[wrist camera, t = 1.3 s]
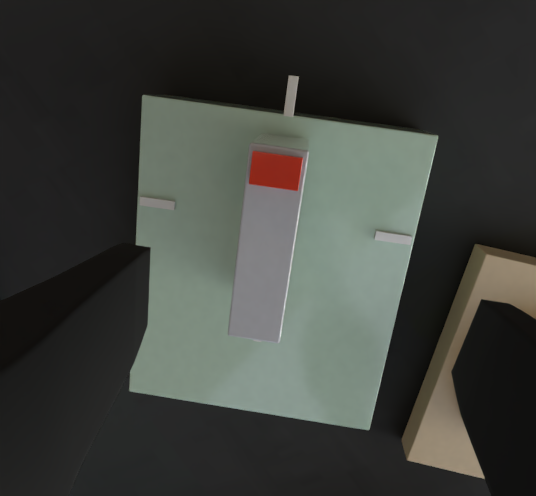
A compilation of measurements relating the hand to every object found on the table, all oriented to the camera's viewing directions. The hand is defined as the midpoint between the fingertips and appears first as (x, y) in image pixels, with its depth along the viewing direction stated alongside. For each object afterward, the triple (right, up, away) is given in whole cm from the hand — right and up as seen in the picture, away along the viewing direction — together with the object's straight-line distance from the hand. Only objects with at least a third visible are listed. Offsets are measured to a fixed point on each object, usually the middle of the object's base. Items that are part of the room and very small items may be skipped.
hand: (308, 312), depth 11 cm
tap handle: (-1, +3, +8) cm, 9 cm away
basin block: (-1, +1, +12) cm, 12 cm away
